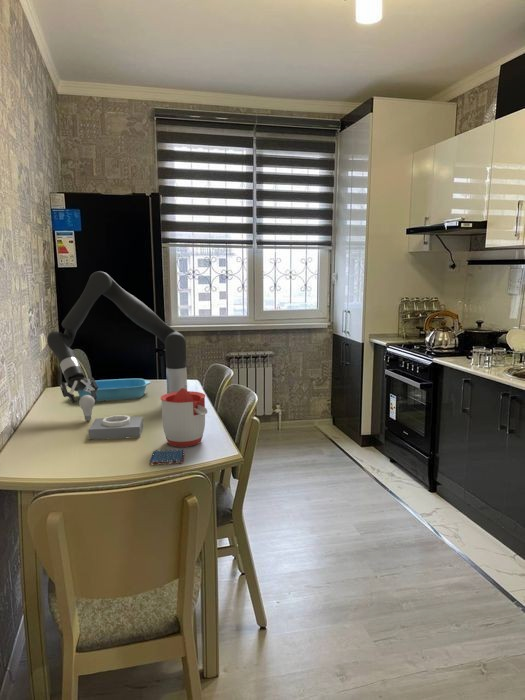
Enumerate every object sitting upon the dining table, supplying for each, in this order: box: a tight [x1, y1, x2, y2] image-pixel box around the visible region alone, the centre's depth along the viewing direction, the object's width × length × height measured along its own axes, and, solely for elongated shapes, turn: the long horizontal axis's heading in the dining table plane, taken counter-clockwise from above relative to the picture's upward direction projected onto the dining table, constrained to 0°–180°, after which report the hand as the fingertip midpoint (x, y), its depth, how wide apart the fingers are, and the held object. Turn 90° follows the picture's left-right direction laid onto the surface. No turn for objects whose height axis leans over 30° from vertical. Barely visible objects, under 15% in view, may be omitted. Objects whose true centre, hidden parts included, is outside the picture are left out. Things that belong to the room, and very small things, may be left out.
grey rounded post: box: [78, 395, 96, 422], centre depth 202 cm, size 6×6×11 cm
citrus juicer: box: [160, 388, 208, 448], centre depth 174 cm, size 16×17×20 cm
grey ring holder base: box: [88, 414, 144, 440], centre depth 187 cm, size 18×14×6 cm
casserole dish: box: [77, 378, 151, 402], centre depth 244 cm, size 37×22×7 cm, turn 108°
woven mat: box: [149, 449, 185, 466], centre depth 160 cm, size 10×11×2 cm
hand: (85, 401), depth 203 cm, fingers open, 8 cm apart
